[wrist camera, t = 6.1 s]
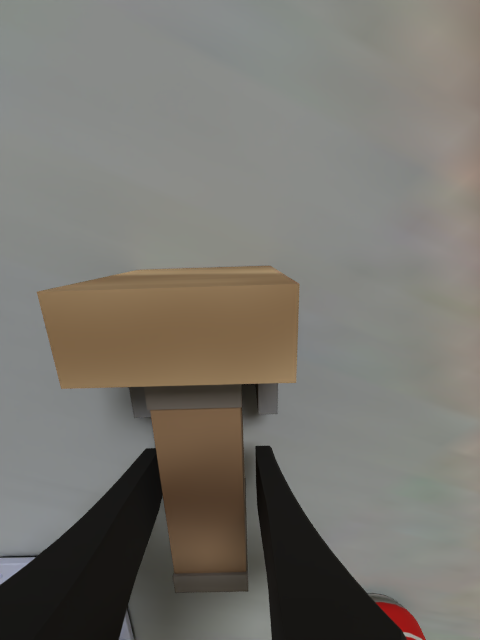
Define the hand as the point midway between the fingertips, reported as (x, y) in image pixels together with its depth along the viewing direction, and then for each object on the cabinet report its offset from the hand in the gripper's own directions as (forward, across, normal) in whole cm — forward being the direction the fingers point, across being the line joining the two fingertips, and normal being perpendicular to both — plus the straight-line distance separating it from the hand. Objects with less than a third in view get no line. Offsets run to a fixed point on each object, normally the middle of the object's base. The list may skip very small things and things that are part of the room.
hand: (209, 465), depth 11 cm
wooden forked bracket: (+3, 0, -6) cm, 6 cm away
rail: (+3, 0, 0) cm, 3 cm away
